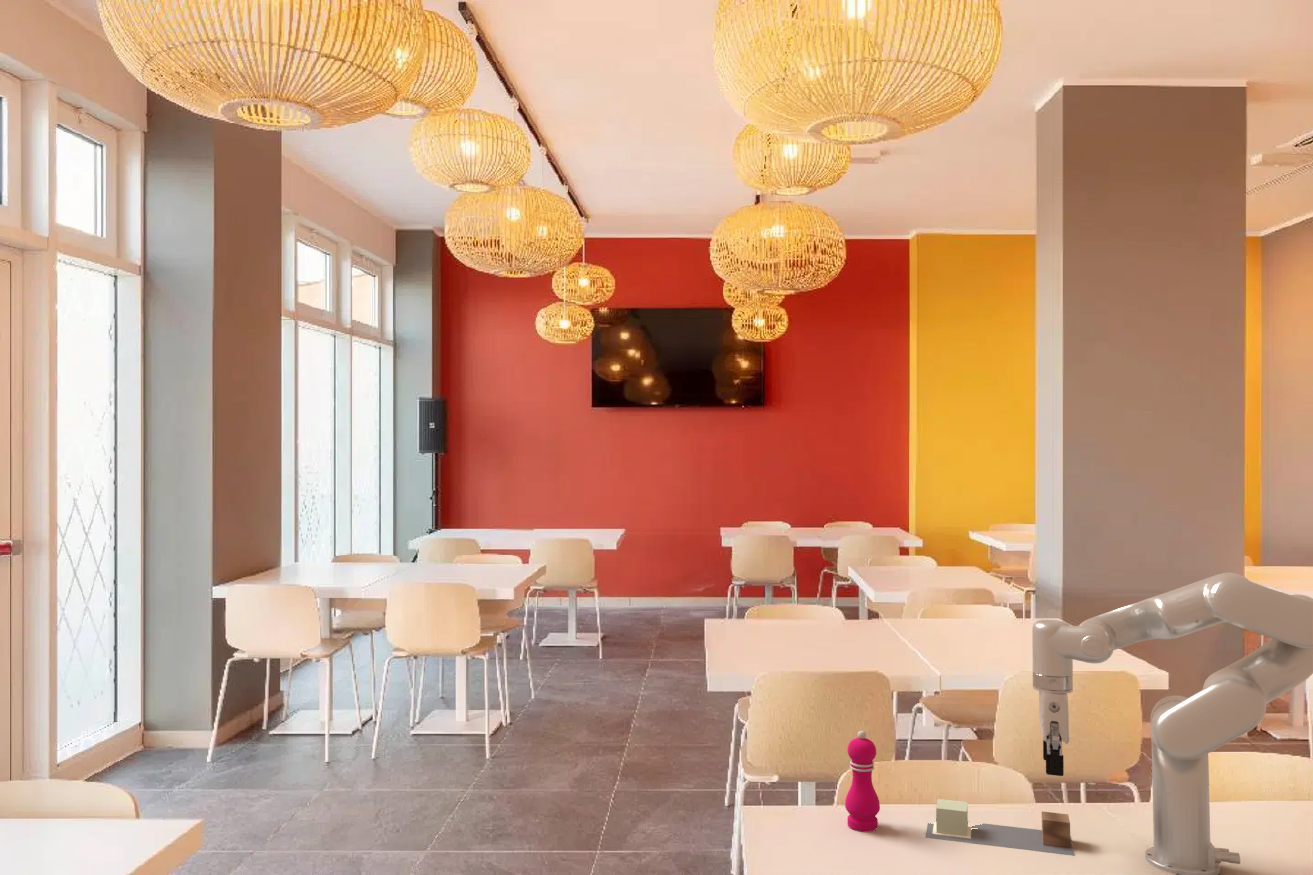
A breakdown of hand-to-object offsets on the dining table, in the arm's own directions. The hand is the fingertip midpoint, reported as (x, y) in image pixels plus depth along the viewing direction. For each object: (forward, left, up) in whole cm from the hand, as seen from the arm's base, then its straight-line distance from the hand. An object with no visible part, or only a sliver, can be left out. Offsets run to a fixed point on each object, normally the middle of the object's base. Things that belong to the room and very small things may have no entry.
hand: (1053, 767), depth 191 cm
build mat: (+11, 0, -15) cm, 19 cm away
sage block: (+20, 0, -15) cm, 25 cm away
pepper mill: (+38, +3, -15) cm, 41 cm away
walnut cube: (0, 0, -15) cm, 15 cm away
